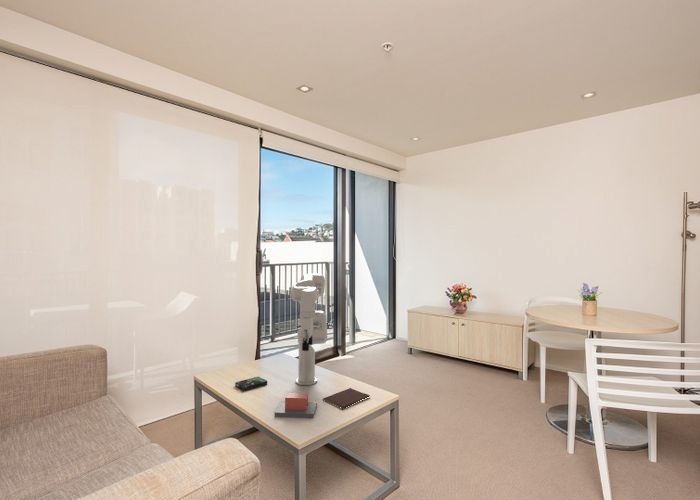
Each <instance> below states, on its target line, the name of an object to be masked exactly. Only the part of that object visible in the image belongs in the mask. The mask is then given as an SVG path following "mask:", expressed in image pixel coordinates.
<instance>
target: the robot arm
mask: <svg viewBox="0 0 700 500" xmlns="http://www.w3.org/2000/svg"><path fill="white" fill-rule="evenodd" d="M325 289H326V279H325V276H324V275H323V274H322V273H306V274H303V275H302V276H301V277H300V281H298V282H295V283H294V284H293V285H292V288H291V292H290V295H291V296H290V297H291V300H292V301H293V302H298V303H299V307H300V308H299V309H300V310H299V312H300V314H299V322H300V328H299V329H298V330H297V333H296V335H297V344H298V374H297V375H298V376H297V378H296V379H295V383H296V384H298V385H300V386H311V385H314V384H316V383H318V378H317V377H316V374H315V369H316V366H315V365H316V351H315V348H314V347H313V346H312V345H320V344H323V345H324V344H326V342H327V341H328V322H327V314H326V312H325V311H324V310H316V301H317V300H318V299H319V297H322V296H324V294H325Z"/></svg>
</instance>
